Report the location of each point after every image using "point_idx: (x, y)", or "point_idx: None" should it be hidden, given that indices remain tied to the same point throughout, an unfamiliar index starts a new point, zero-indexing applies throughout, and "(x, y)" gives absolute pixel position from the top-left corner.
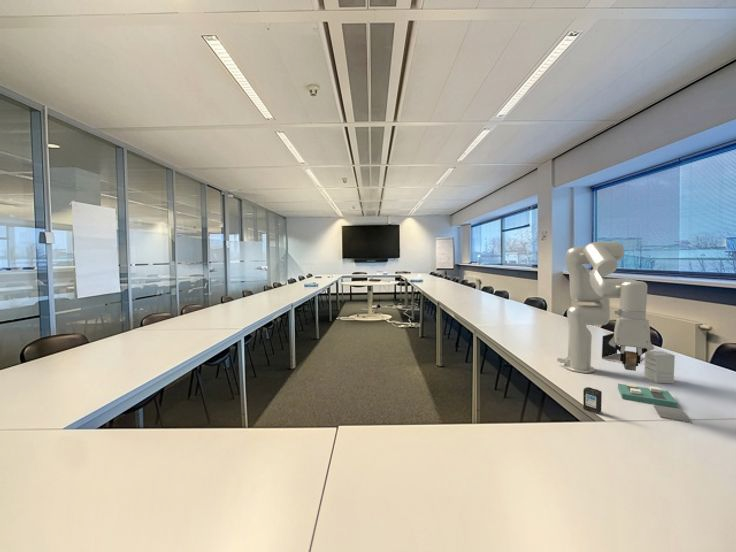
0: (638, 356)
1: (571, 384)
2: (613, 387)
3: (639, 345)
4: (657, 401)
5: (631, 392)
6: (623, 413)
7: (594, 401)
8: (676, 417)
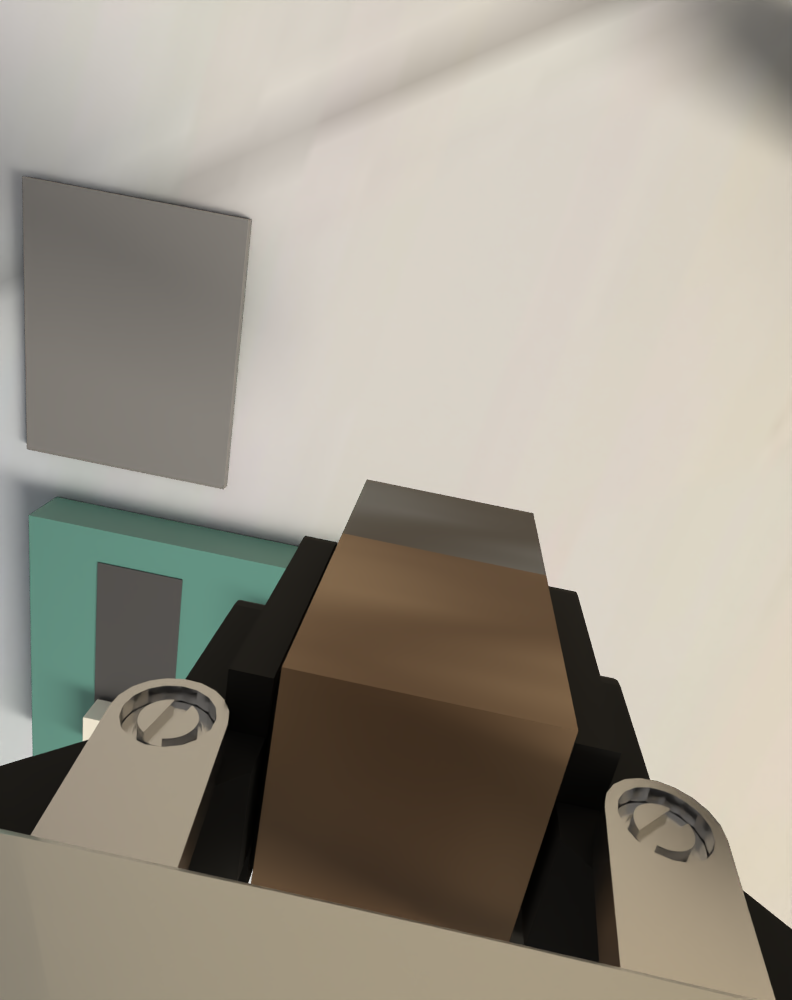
0: (241, 653)
1: (784, 798)
2: None
3: (13, 926)
4: (175, 536)
5: None
6: (571, 191)
7: None
8: (119, 241)
